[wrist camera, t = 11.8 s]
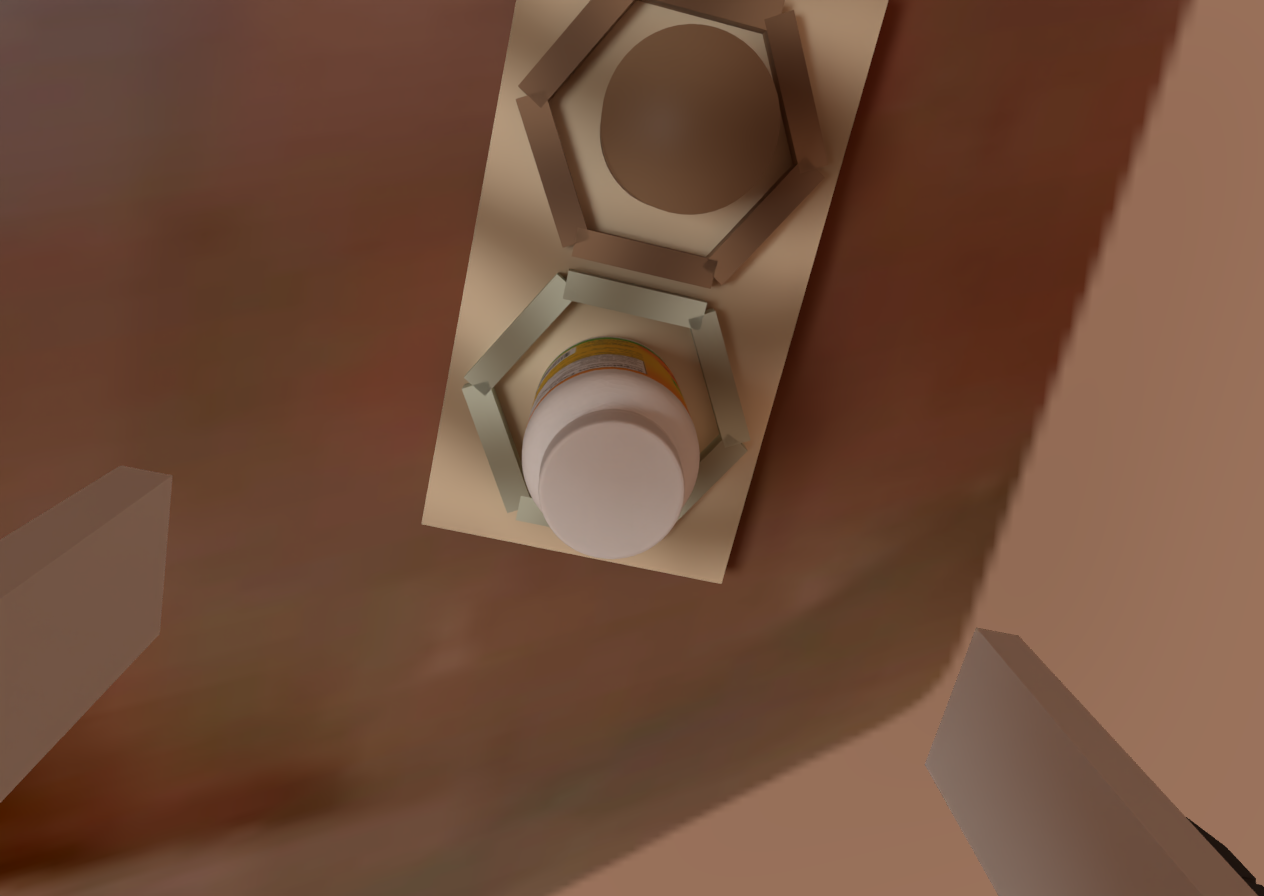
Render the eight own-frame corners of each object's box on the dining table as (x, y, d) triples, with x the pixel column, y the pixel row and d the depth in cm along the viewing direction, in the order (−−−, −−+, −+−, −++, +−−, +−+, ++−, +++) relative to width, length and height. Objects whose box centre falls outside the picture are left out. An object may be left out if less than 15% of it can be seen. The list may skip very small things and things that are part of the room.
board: (538, -93, 30) (534, -115, 27) (876, 0, 31) (898, -14, 29) (428, 510, 36) (417, 531, 33) (716, 568, 37) (724, 592, 35)
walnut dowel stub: (618, 38, 29) (624, 2, 24) (761, 75, 30) (801, 50, 24) (585, 190, 31) (583, 191, 25) (723, 224, 31) (753, 232, 26)
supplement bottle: (682, 470, 34) (714, 579, 25) (540, 477, 34) (519, 589, 24) (678, 329, 32) (711, 390, 23) (530, 336, 32) (503, 400, 23)
